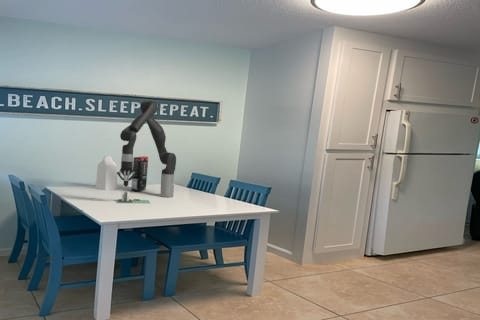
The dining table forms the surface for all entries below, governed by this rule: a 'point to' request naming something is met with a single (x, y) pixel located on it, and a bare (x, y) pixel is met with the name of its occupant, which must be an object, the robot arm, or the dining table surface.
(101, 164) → the milk
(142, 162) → the graphics card box
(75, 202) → the dining table surface
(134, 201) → the board
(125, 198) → the plug
